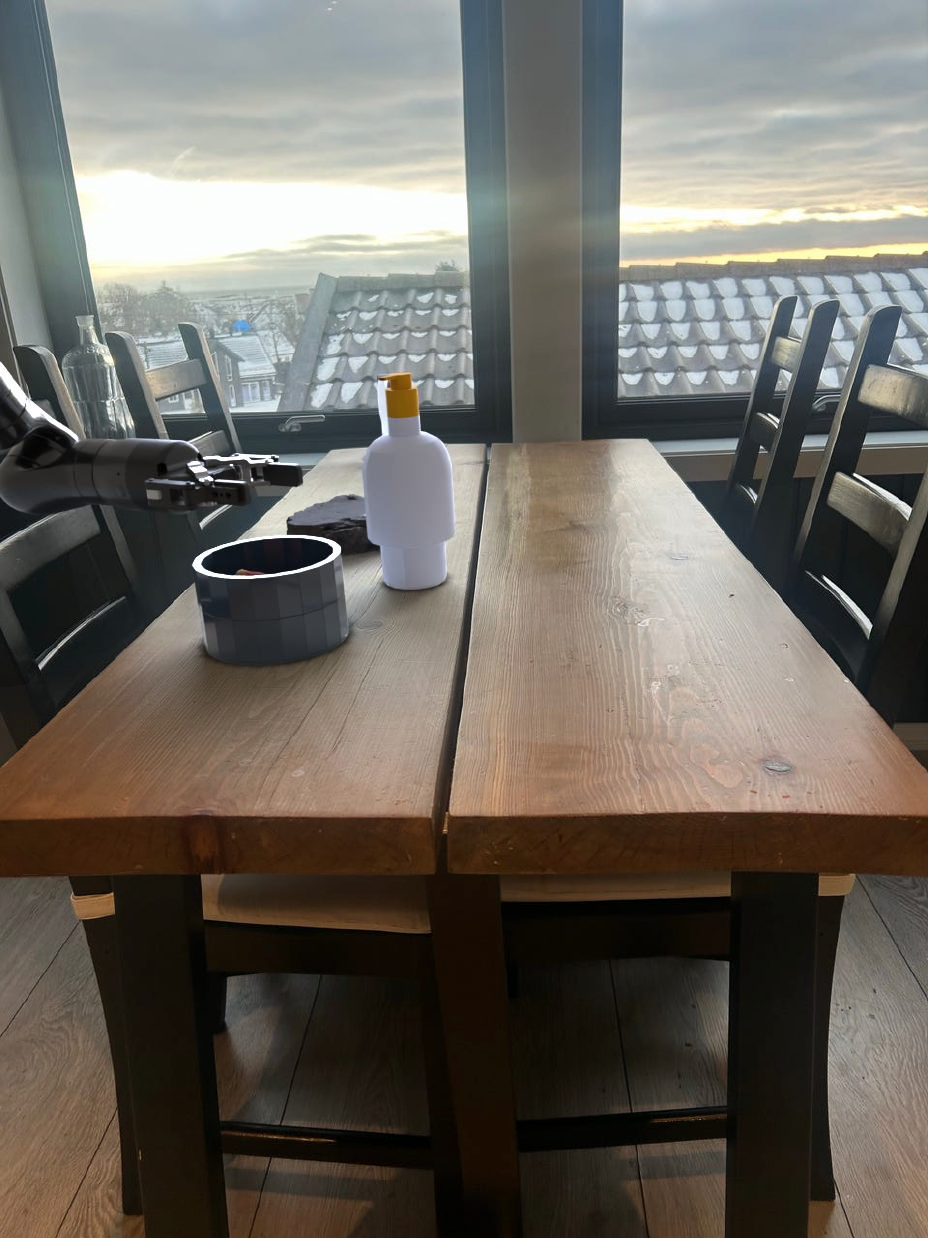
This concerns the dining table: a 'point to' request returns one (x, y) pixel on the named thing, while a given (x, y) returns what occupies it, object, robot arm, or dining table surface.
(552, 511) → the dining table surface
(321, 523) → the rock sample
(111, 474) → the robot arm
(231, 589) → the pot
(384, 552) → the soap bottle
